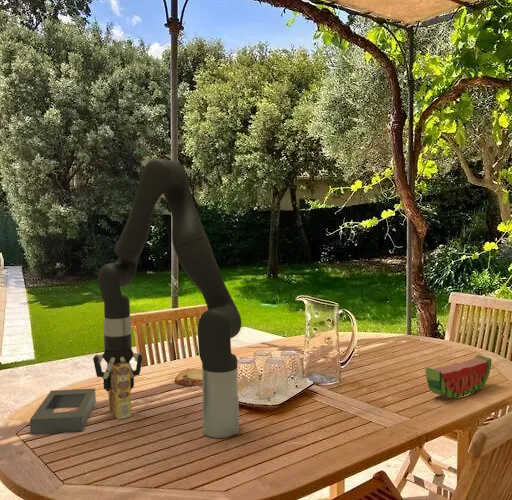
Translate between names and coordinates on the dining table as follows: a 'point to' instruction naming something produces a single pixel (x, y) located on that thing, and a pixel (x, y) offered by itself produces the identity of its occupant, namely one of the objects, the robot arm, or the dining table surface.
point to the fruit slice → (459, 377)
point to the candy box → (120, 390)
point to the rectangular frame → (63, 421)
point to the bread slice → (190, 377)
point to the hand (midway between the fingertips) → (119, 389)
